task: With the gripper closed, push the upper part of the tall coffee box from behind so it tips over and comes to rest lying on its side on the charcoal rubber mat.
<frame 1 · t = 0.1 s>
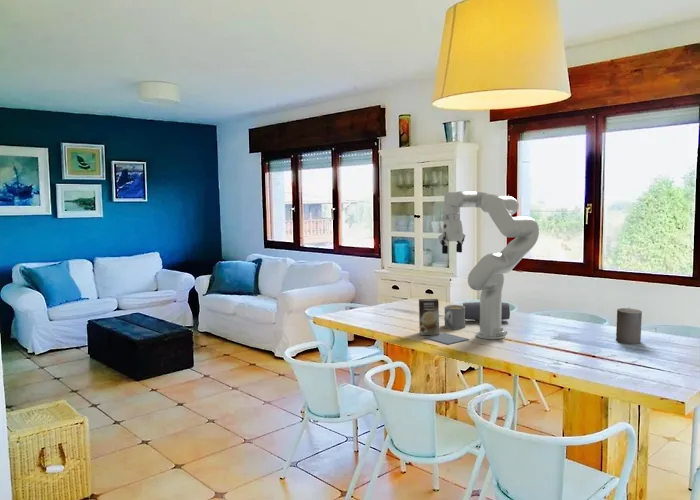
hand: (452, 252, 269), 37 cm above the table, tool pointing down, fingers open, 9 cm apart
pillar candle: (628, 341, 240), on the table
bluetooth speaker: (485, 321, 285), on the table
coffee mug: (452, 327, 273), on the table
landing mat: (446, 339, 250), on the table
coffee box: (429, 334, 259), on the table, touching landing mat
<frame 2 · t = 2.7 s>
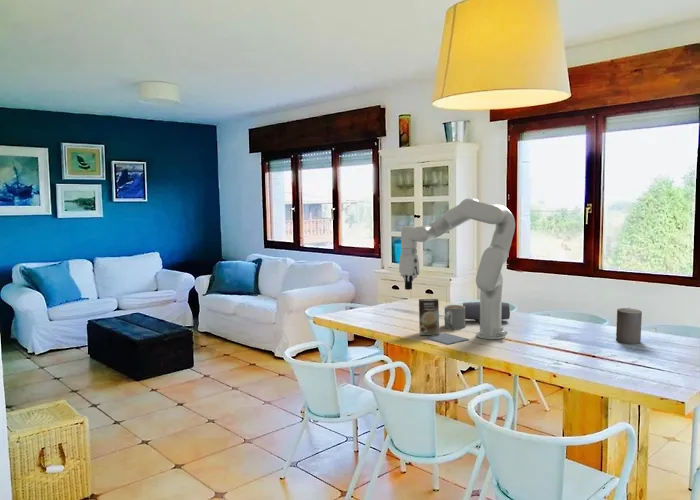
hand: (408, 289, 269), 20 cm above the table, tool pointing down, fingers closed
nothing on the table moved.
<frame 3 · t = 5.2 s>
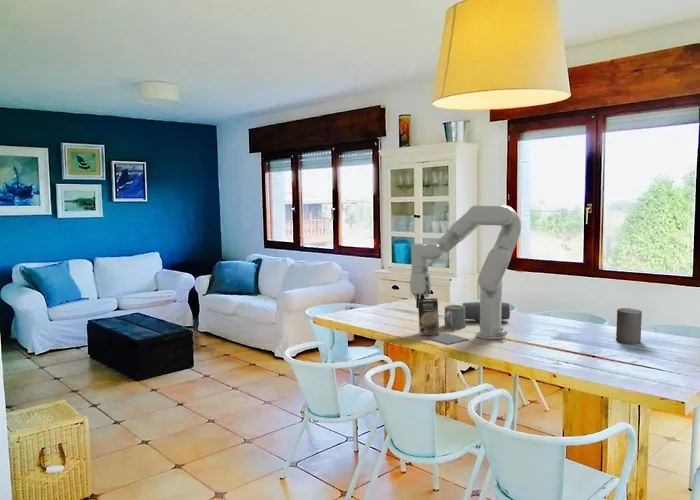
hand: (420, 308, 263), 12 cm above the table, tool pointing down, fingers closed
coffee box: (429, 333, 259), on the table, touching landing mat
everything else where it was.
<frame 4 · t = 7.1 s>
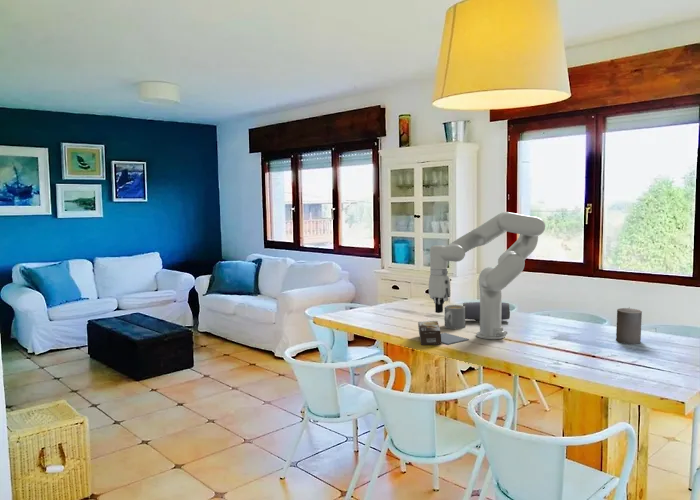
hand: (439, 312, 253), 11 cm above the table, tool pointing down, fingers closed
coffee box: (428, 327, 255), point 4 cm above the table, touching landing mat
everything else where it was.
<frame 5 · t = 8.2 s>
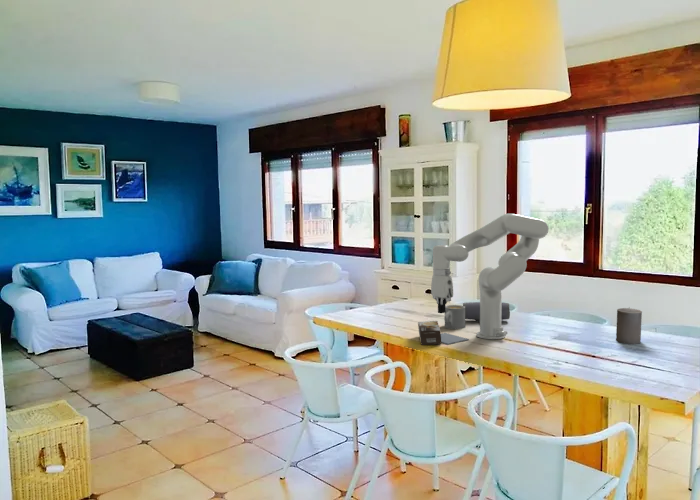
hand: (441, 312, 251), 12 cm above the table, tool pointing down, fingers closed
nothing on the table moved.
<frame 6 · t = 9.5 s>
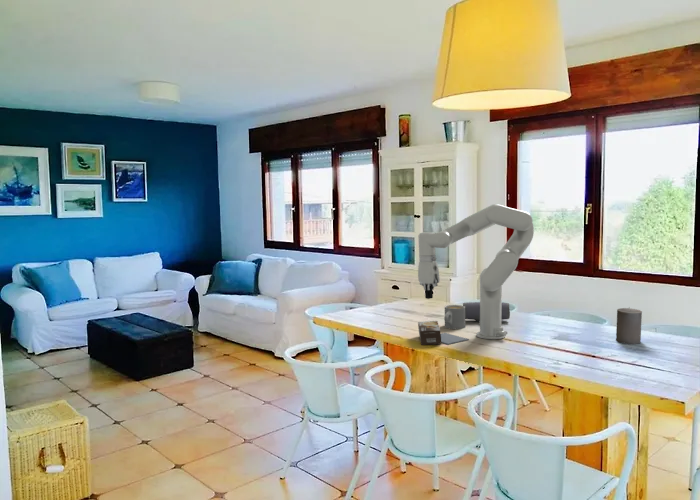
hand: (429, 298, 258), 17 cm above the table, tool pointing down, fingers closed
nothing on the table moved.
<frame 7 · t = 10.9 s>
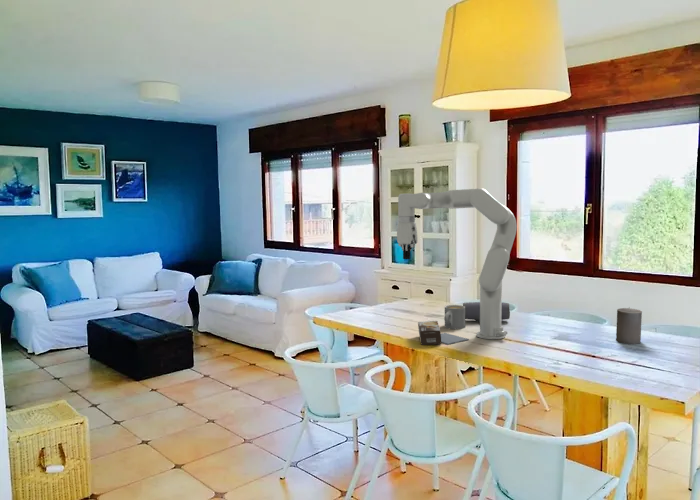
hand: (406, 258, 261), 35 cm above the table, tool pointing down, fingers closed
nothing on the table moved.
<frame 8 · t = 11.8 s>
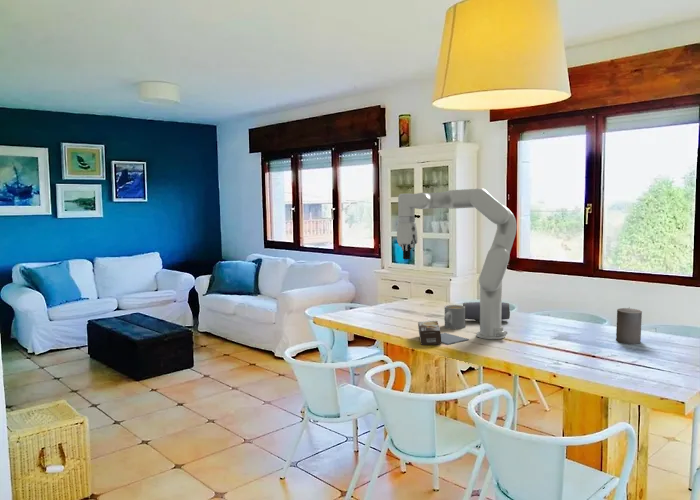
hand: (406, 258, 261), 35 cm above the table, tool pointing down, fingers closed
nothing on the table moved.
at the end: coffee box tilted 93°; coffee box inside the target area (4.4 cm from its centre), point 4.0 cm above the table; coffee box touching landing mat, table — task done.
